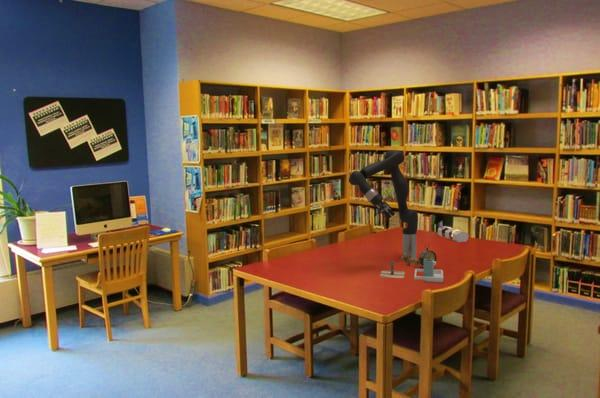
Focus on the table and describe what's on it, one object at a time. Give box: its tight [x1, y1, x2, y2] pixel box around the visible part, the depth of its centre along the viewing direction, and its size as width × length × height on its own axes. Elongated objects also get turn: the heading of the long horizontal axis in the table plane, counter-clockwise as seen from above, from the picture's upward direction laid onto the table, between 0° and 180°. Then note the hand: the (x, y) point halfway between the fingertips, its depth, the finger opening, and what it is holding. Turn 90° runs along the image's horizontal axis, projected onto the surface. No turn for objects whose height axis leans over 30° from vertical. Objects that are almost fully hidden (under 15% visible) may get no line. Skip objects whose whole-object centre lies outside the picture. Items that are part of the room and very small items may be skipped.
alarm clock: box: [418, 243, 438, 268], centre depth 309 cm, size 11×5×16 cm, turn 116°
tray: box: [413, 268, 444, 284], centre depth 291 cm, size 16×16×3 cm
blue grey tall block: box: [423, 259, 437, 277], centre depth 290 cm, size 5×6×10 cm
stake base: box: [379, 260, 406, 279], centre depth 296 cm, size 14×14×10 cm
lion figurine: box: [400, 252, 422, 269], centre depth 312 cm, size 15×5×9 cm, turn 51°
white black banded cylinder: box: [437, 220, 469, 243], centre depth 387 cm, size 25×10×13 cm, turn 18°
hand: (392, 216), depth 302 cm, fingers open, 8 cm apart
